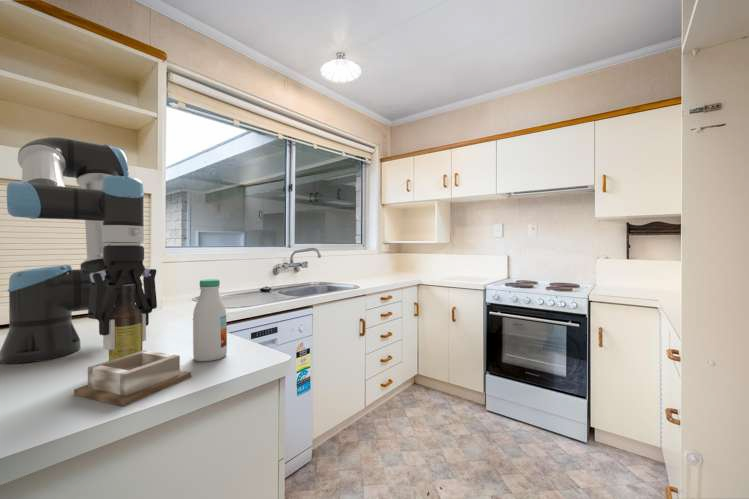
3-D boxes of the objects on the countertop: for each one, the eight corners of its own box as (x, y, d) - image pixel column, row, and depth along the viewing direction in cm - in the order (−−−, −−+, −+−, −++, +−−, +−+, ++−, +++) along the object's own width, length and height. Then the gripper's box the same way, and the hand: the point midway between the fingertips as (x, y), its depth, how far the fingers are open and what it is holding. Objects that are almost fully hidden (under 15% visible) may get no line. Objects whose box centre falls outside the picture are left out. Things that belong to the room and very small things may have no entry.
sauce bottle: (117, 366, 78) (116, 282, 78) (147, 363, 80) (146, 282, 80) (102, 376, 72) (102, 285, 72) (135, 373, 73) (134, 285, 73)
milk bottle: (213, 363, 80) (212, 281, 80) (186, 361, 81) (185, 281, 81) (233, 353, 87) (232, 278, 87) (207, 351, 89) (207, 278, 89)
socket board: (74, 394, 63) (73, 368, 63) (146, 368, 76) (146, 347, 76) (122, 406, 58) (122, 378, 58) (191, 376, 71) (190, 354, 71)
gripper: (85, 244, 65) (87, 359, 65) (174, 244, 83) (175, 335, 83) (62, 244, 68) (64, 355, 68) (153, 244, 86) (154, 332, 86)
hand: (125, 344), depth 76 cm, fingers closed on sauce bottle, 6 cm apart
